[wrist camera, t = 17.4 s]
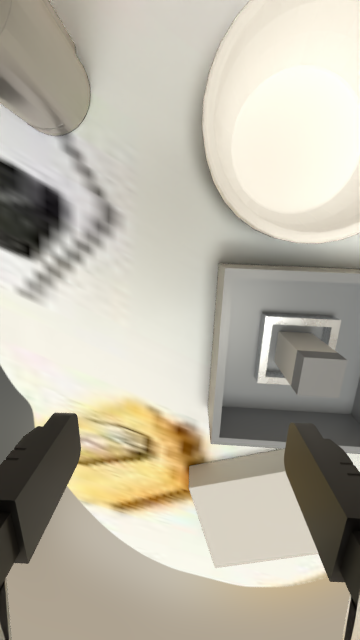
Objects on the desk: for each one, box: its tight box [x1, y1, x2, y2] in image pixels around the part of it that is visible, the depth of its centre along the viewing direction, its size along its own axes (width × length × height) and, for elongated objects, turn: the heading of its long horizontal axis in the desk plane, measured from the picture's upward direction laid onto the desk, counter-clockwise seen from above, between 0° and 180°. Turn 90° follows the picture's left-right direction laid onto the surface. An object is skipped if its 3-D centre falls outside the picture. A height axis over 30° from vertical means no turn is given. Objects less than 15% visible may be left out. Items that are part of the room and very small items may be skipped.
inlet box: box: [208, 263, 360, 454], centre depth 35 cm, size 22×22×8 cm
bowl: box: [202, 0, 360, 244], centre depth 28 cm, size 22×22×8 cm
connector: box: [274, 331, 348, 398], centre depth 33 cm, size 4×4×9 cm
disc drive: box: [189, 449, 319, 568], centre depth 44 cm, size 18×22×5 cm
